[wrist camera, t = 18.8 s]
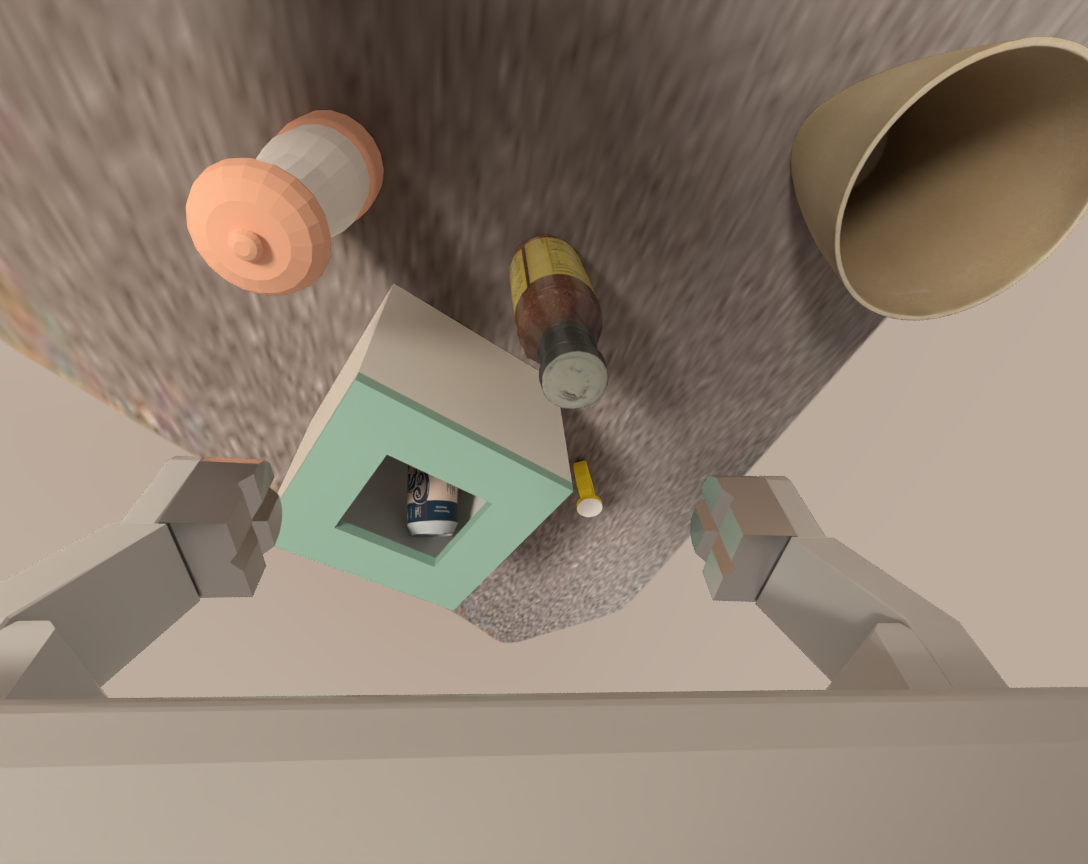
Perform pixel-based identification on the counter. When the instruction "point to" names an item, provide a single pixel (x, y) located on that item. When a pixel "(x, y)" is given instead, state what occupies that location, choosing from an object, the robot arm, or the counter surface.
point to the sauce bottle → (558, 321)
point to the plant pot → (948, 174)
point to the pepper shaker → (285, 203)
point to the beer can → (430, 505)
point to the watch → (586, 491)
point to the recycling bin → (424, 456)
